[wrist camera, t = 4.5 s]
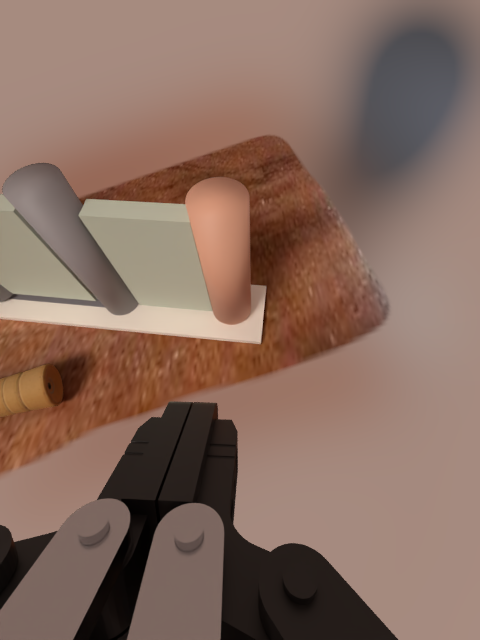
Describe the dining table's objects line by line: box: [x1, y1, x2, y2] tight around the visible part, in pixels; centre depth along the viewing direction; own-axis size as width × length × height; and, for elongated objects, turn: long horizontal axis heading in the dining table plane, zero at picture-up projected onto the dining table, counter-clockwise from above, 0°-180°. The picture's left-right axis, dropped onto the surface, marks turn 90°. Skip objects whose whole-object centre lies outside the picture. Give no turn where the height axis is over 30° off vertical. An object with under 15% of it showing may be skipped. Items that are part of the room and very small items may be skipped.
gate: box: [78, 177, 251, 325], centre depth 19 cm, size 9×3×10 cm, turn 83°
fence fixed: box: [0, 163, 139, 316], centre depth 20 cm, size 13×3×11 cm, turn 83°
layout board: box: [0, 285, 266, 344], centre depth 26 cm, size 24×14×1 cm, turn 83°
